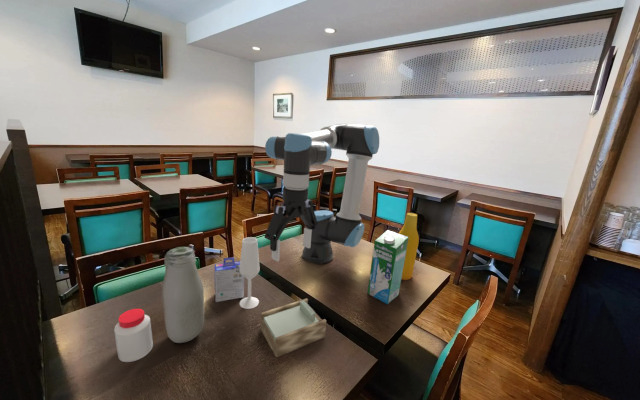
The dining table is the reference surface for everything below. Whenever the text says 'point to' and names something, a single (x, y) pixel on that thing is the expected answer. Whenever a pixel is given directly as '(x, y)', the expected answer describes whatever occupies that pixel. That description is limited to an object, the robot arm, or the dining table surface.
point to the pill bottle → (133, 335)
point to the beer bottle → (410, 244)
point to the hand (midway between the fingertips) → (291, 252)
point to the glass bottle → (182, 295)
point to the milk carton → (387, 266)
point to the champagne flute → (249, 268)
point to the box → (293, 338)
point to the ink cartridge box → (228, 281)
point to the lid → (290, 319)
